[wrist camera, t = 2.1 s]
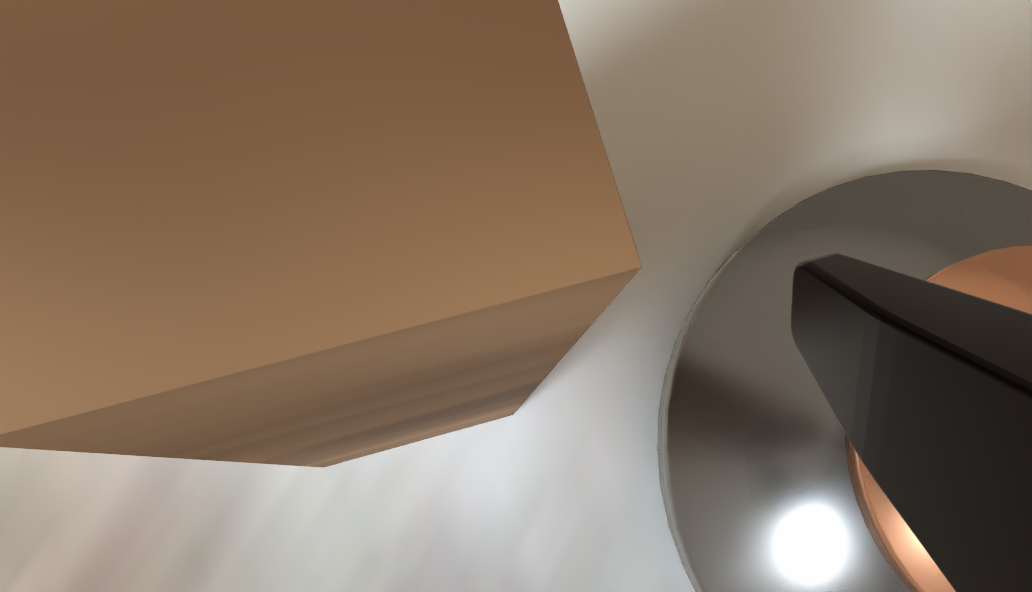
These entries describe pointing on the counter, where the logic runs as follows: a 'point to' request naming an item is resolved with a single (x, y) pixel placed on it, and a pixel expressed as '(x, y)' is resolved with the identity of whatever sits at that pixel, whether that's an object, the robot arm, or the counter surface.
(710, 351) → the copper topped disc
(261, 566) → the counter surface
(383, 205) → the walnut stick
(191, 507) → the counter surface
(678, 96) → the counter surface
